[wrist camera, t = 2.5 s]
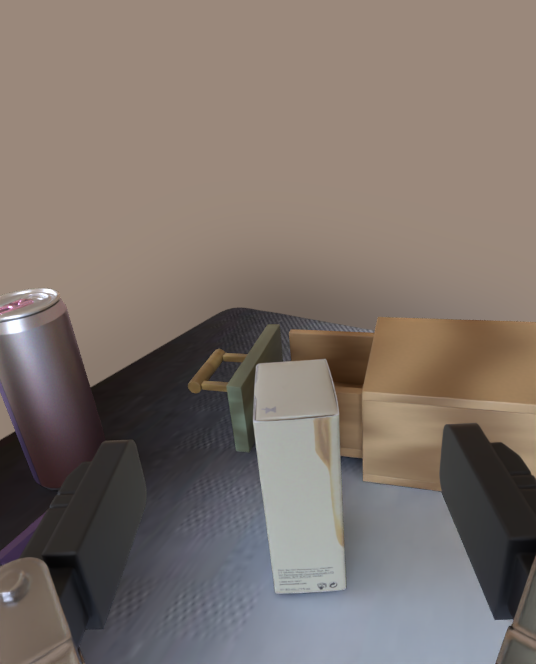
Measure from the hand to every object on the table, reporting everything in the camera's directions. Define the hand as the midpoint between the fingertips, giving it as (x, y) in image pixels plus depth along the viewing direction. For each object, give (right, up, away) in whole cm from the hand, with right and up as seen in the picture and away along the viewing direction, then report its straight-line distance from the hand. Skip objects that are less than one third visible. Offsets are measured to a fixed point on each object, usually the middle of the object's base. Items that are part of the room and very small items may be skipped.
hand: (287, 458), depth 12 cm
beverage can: (-17, -8, +27) cm, 33 cm away
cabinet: (+15, -5, +26) cm, 31 cm away
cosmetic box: (+2, -11, +18) cm, 21 cm away
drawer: (+2, -4, +30) cm, 30 cm away
